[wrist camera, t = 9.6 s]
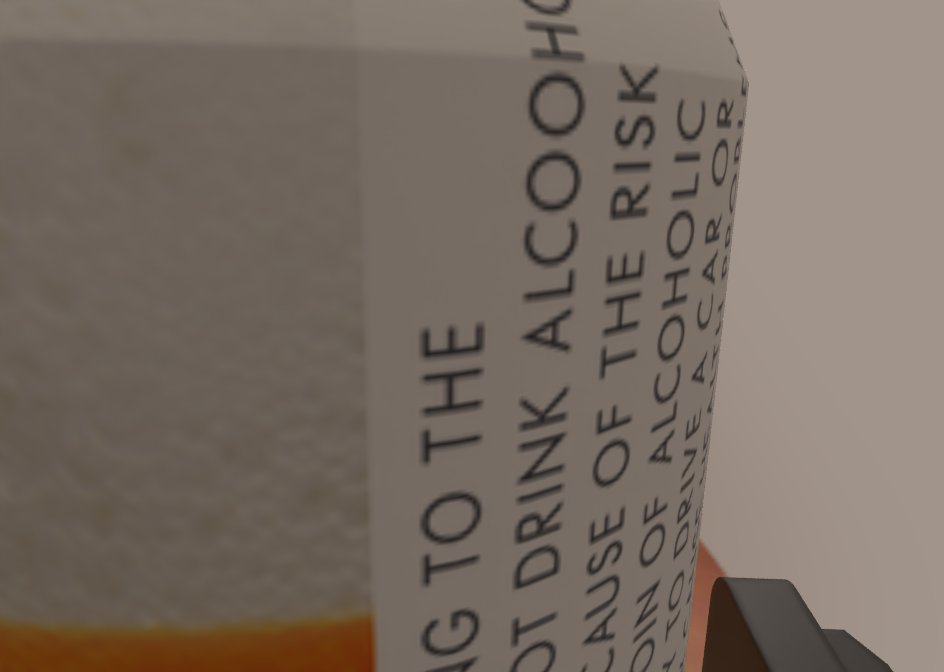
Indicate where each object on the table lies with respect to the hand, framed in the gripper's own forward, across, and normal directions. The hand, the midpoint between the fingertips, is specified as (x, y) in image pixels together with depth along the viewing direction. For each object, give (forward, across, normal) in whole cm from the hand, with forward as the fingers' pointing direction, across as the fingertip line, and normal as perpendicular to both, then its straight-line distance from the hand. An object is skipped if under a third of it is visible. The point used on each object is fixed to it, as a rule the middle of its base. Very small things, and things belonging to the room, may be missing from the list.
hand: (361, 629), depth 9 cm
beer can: (-2, 0, +8) cm, 8 cm away
